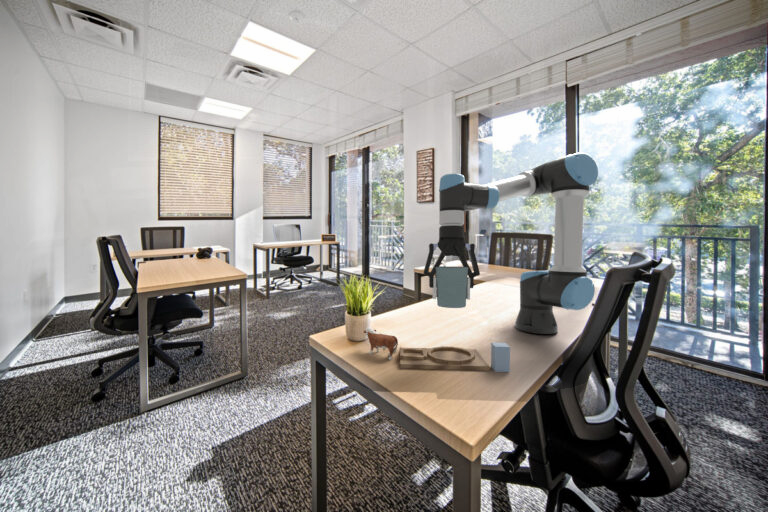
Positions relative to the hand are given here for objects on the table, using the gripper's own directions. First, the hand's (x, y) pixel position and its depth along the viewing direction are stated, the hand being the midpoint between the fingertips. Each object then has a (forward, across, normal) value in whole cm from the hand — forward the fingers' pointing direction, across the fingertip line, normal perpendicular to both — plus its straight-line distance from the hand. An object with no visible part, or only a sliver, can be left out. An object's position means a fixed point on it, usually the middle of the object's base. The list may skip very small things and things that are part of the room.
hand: (451, 298), depth 97 cm
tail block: (+19, -13, +6) cm, 24 cm away
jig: (+19, +3, 0) cm, 19 cm away
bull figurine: (+19, +22, -3) cm, 29 cm away
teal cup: (+2, 0, 0) cm, 2 cm away
